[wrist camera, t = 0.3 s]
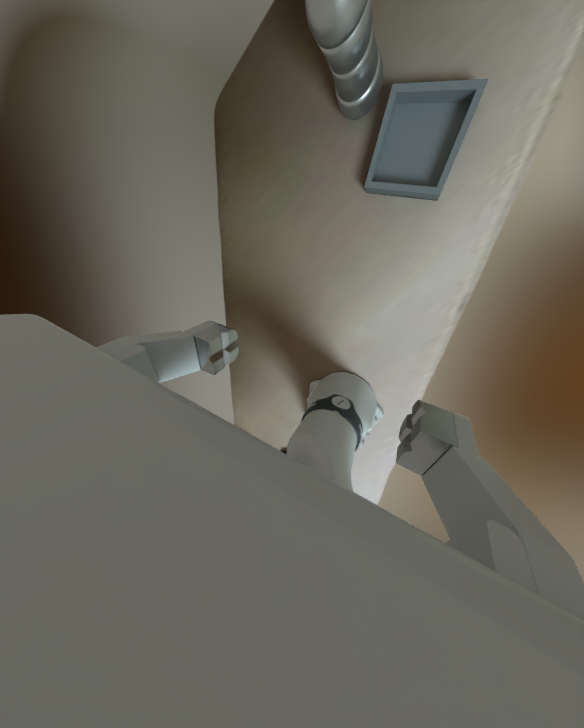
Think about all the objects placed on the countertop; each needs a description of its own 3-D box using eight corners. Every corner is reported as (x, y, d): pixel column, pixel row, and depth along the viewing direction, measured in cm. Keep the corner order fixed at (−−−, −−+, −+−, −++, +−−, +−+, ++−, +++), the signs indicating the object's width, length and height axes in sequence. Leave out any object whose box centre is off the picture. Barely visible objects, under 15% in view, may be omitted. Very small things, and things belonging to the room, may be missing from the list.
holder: (437, 200, 33) (439, 194, 30) (366, 192, 36) (364, 187, 34) (481, 96, 27) (488, 78, 25) (393, 98, 31) (392, 83, 28)
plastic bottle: (336, 127, 35) (276, -2, 18) (346, 65, 32) (285, -158, 15) (376, 124, 33) (347, -25, 16) (391, 57, 30) (375, -212, 13)
